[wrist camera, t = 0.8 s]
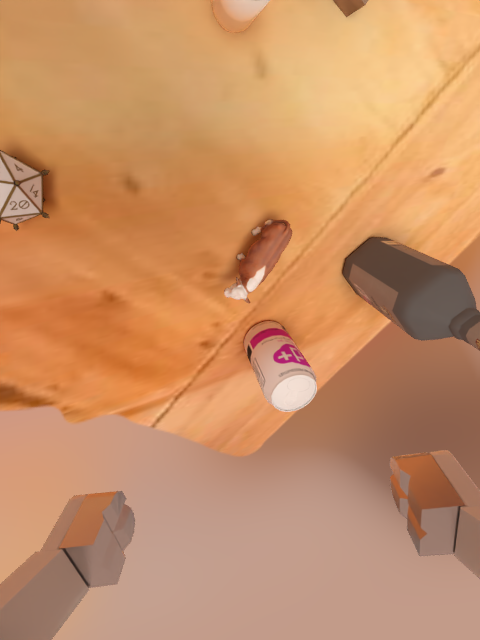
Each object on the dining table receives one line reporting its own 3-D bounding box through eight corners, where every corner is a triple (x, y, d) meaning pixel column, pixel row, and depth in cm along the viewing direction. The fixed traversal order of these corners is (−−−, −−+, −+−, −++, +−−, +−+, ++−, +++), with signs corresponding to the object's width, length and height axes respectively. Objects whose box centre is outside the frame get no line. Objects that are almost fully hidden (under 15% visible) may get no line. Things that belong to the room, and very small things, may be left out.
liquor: (358, 298, 59) (511, 419, 33) (334, 265, 54) (491, 377, 29) (399, 264, 57) (593, 365, 32) (378, 227, 52) (585, 311, 27)
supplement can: (254, 314, 55) (283, 366, 43) (292, 325, 58) (330, 377, 46) (235, 351, 58) (257, 410, 46) (273, 360, 61) (304, 417, 49)
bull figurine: (213, 277, 50) (222, 299, 43) (267, 206, 47) (286, 218, 40) (234, 291, 52) (246, 314, 45) (287, 224, 49) (309, 239, 42)
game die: (38, 169, 41) (66, 152, 35) (39, 235, 42) (66, 232, 36) (-55, 144, 35) (-43, 118, 28) (-52, 224, 36) (-39, 217, 29)
